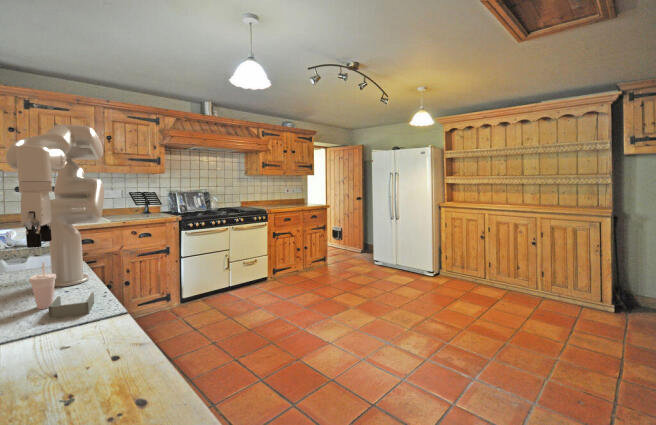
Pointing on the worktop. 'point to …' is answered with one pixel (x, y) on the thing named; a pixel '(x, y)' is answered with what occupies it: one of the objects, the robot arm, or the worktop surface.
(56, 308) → the bay
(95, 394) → the worktop surface
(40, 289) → the smoothie
